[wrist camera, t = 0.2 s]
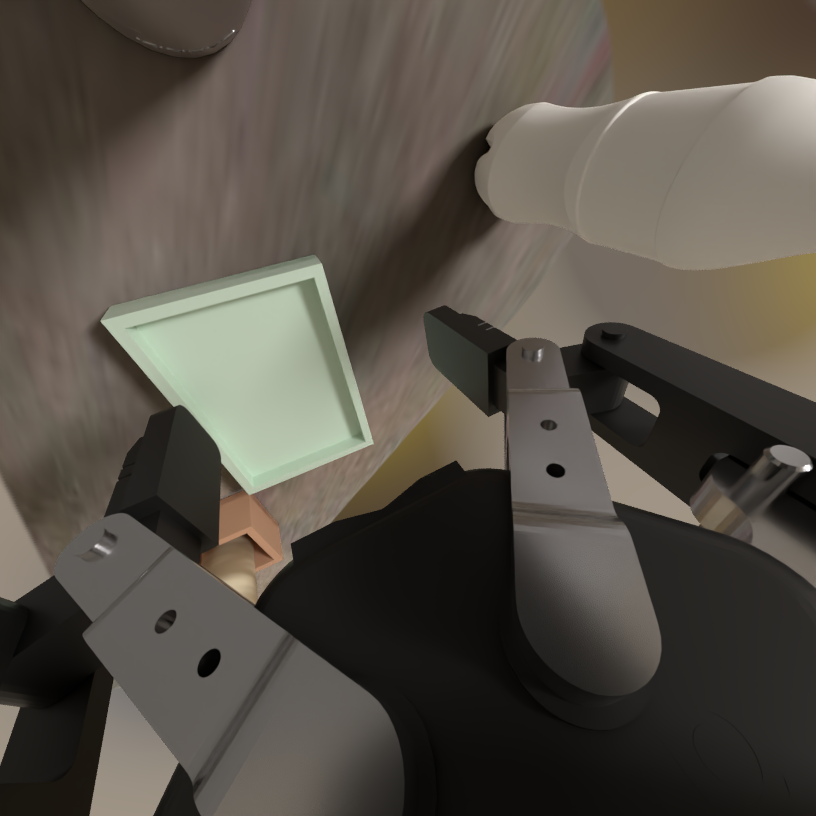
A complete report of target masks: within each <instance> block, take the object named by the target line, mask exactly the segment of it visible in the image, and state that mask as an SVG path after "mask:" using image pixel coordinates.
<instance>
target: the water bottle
mask: <svg viewBox="0 0 816 816" xmlns="http://www.w3.org/2000/svg"><path fill="white" fill-rule="evenodd" d="M486 140H487V142H488V144H489V146H490V147H491V148H490V150H489V151H488V153H486V154H484V155H483V156H481V157H480V158H479V160H478V161H477V164H476V168H475V185H476V189H477V191H478V193H479V195H480V197H481V198H482V200H483V201H484V202H485V204H487V205H488V206H489V209H490V210H491V211H492V213H493V214H494V215H495V216H496V217H498V218H500V219H503V220H506V221H509V222H512V223H543V224H551V225H555V226H558V227H562V228H565V229H567V230H569V231H572V232H574V233H576V234H577V235H579V236H580V237H581V238H582V239H583V240H585V241H587V242H589V243H591V244H596V245H602V246H605V247H609V248H612V249H616V250H620V251H623V252H627V253H630V254H634V255H638V256H641V257H645V258H648V259H652V260H656V261H659V262H661V263H662V264H664V265H665V266H667V267H672V268H677V269H682V270H683V269H684V270H707V269H718V268H726V267H732V266H738V265H745V264H751V263H756V262H762V261H767V260H773V259H778V258H783V257H788V256H795V255H801V254H807V253H816V79H811V78H805V77H798V76H771V77H767V78H764V79H762V80H760V81H757V82H753V83H744V84H734V85H725V86H716V87H706V88H697V89H688V90H678V91H669V92H654V91H652V92H646V93H642V94H640V95H637V96H635V97H632V98H630V99H627V100H624V101H621V102H617V103H613V104H608V105H604V106H599V107H591V108H569V107H562V106H557V105H553V104H550V103H547V102H542V103H534V104H528V105H525V106H522V107H519V108H517V109H515V110H513V111H512V112H510V113H508V114H507V115H505V116H504V117H503V118H502V119H500V120H499V121H498V122H497V123H496V124H495V125H494V126H493V127H492V129H491V130H490V131H489V133H488V135H487V137H486Z"/></svg>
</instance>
